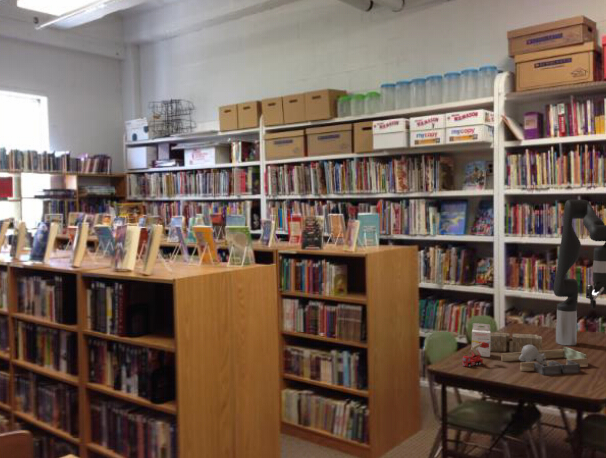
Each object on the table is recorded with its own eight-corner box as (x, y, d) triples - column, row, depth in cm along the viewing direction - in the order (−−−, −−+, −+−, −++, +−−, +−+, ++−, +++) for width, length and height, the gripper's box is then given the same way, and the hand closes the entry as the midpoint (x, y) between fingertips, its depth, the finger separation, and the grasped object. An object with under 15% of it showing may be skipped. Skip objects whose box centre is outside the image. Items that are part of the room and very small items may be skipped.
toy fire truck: (461, 365, 264) (461, 344, 264) (483, 361, 271) (483, 340, 270) (466, 367, 261) (466, 346, 261) (489, 363, 268) (489, 342, 267)
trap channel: (501, 360, 271) (501, 350, 271) (564, 356, 277) (564, 345, 276) (530, 376, 247) (530, 364, 247) (598, 370, 253) (598, 359, 253)
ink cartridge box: (471, 355, 281) (471, 325, 280) (472, 353, 285) (472, 323, 285) (490, 357, 278) (490, 326, 277) (490, 354, 282) (490, 324, 282)
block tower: (540, 352, 290) (478, 346, 299) (541, 335, 289) (478, 329, 298) (541, 356, 282) (478, 350, 291) (542, 338, 282) (478, 333, 291)
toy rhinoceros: (542, 373, 260) (550, 357, 257) (516, 360, 265) (523, 343, 263) (545, 369, 266) (552, 352, 263) (519, 356, 271) (526, 340, 269)
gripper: (610, 269, 261) (610, 305, 262) (582, 270, 258) (581, 307, 259) (623, 271, 254) (622, 308, 255) (594, 272, 251) (593, 310, 252)
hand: (602, 308), depth 257 cm, fingers open, 8 cm apart
